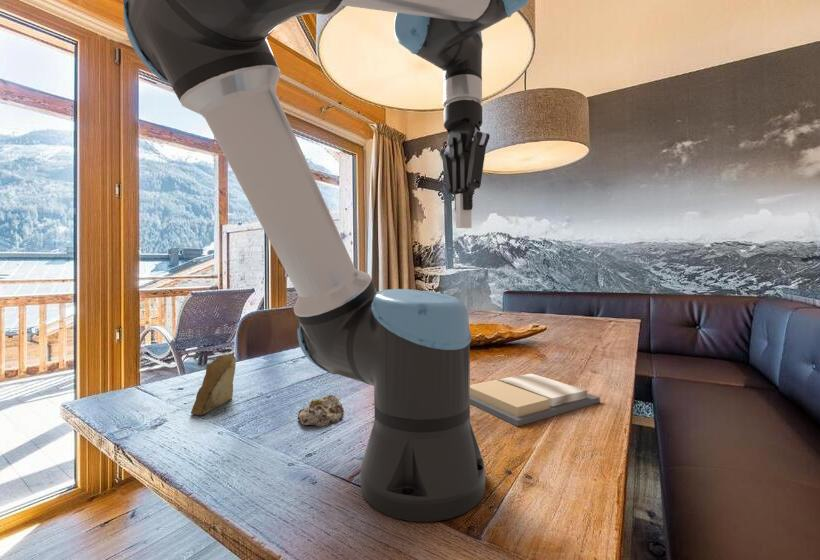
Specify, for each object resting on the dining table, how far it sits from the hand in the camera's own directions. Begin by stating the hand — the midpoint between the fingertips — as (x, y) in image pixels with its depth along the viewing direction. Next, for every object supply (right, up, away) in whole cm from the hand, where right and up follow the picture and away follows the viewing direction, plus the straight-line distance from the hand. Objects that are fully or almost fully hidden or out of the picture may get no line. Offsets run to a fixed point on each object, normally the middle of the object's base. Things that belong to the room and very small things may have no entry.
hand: (463, 227), depth 73 cm
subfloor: (+13, -34, +1) cm, 37 cm away
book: (+16, -33, +3) cm, 37 cm away
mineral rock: (-26, -35, -6) cm, 44 cm away
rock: (-50, -35, 0) cm, 61 cm away
